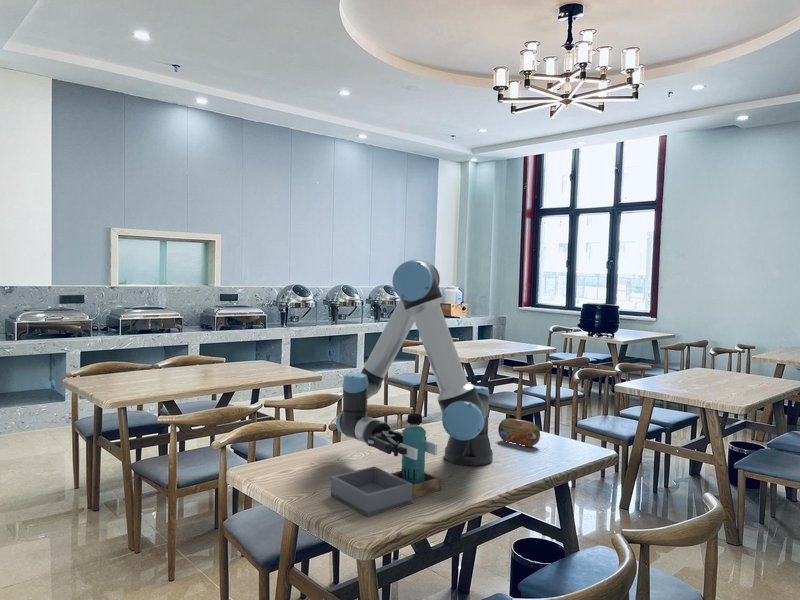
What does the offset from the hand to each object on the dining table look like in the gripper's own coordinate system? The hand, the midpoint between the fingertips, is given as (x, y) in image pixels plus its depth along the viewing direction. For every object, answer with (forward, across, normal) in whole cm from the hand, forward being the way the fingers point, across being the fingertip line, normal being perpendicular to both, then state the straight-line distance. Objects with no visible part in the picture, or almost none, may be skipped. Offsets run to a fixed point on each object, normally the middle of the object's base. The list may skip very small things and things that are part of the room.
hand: (426, 452), depth 153 cm
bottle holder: (-5, 0, -11) cm, 12 cm away
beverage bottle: (-5, 0, -11) cm, 12 cm away
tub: (-5, +14, -11) cm, 19 cm away
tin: (-15, -57, -11) cm, 60 cm away
